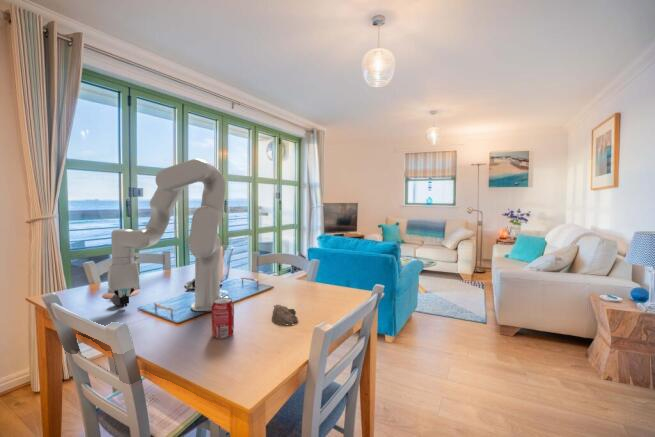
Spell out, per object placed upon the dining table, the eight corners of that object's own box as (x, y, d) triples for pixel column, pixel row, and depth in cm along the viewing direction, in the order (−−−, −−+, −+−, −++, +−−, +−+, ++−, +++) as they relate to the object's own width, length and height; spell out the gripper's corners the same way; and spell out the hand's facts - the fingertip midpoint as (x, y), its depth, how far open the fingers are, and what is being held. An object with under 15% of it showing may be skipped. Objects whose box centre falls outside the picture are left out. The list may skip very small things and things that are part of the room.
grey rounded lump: (129, 290, 126) (132, 301, 127) (118, 288, 127) (121, 300, 128) (118, 297, 120) (121, 309, 122) (106, 296, 122) (110, 307, 123)
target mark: (144, 289, 147) (144, 288, 147) (129, 298, 133) (129, 298, 133) (113, 289, 145) (113, 288, 145) (95, 299, 131) (95, 298, 131)
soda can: (226, 328, 106) (226, 295, 105) (238, 334, 101) (238, 299, 100) (207, 335, 100) (207, 300, 99) (219, 342, 96) (219, 305, 95)
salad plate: (178, 284, 158) (177, 275, 157) (212, 279, 169) (212, 271, 169) (188, 294, 143) (188, 284, 142) (225, 287, 154) (225, 278, 154)
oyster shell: (273, 328, 108) (273, 314, 108) (270, 314, 120) (270, 302, 120) (299, 325, 111) (299, 312, 110) (294, 312, 123) (294, 300, 122)
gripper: (144, 256, 127) (145, 299, 128) (99, 260, 118) (101, 306, 119) (146, 260, 121) (147, 304, 122) (99, 264, 112) (101, 312, 113)
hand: (124, 305), depth 121 cm, fingers closed
